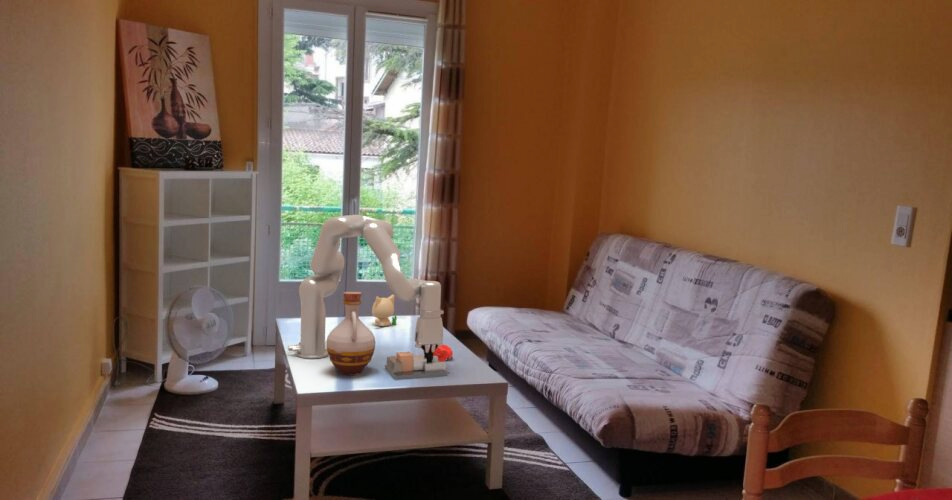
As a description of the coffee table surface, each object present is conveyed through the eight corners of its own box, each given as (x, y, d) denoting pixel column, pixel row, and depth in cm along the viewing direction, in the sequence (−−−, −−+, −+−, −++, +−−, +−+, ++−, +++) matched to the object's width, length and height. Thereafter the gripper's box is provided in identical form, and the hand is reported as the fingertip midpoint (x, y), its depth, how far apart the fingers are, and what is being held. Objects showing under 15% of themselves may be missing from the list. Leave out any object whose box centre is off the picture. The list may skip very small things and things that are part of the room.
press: (395, 380, 256) (396, 365, 255) (384, 369, 268) (385, 354, 268) (447, 375, 264) (448, 361, 263) (434, 365, 277) (434, 351, 276)
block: (399, 371, 261) (400, 355, 260) (395, 368, 265) (396, 352, 265) (412, 370, 263) (413, 355, 262) (408, 367, 267) (409, 351, 267)
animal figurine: (445, 352, 298) (446, 340, 298) (455, 361, 284) (456, 349, 284) (418, 353, 295) (419, 341, 294) (427, 362, 281) (428, 350, 280)
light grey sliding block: (413, 370, 262) (413, 359, 262) (408, 365, 268) (408, 355, 267) (426, 369, 264) (426, 359, 264) (420, 365, 270) (421, 354, 269)
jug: (378, 379, 255) (381, 297, 252) (328, 381, 250) (330, 297, 247) (370, 364, 274) (373, 287, 270) (323, 365, 269) (325, 287, 265)
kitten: (390, 321, 348) (391, 291, 346) (402, 326, 340) (403, 295, 339) (364, 325, 338) (365, 294, 336) (376, 329, 330) (377, 298, 329)
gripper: (444, 311, 272) (443, 357, 274) (407, 313, 266) (406, 360, 268) (452, 315, 265) (450, 363, 267) (414, 317, 259) (413, 366, 261)
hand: (428, 361), depth 268 cm, fingers closed
